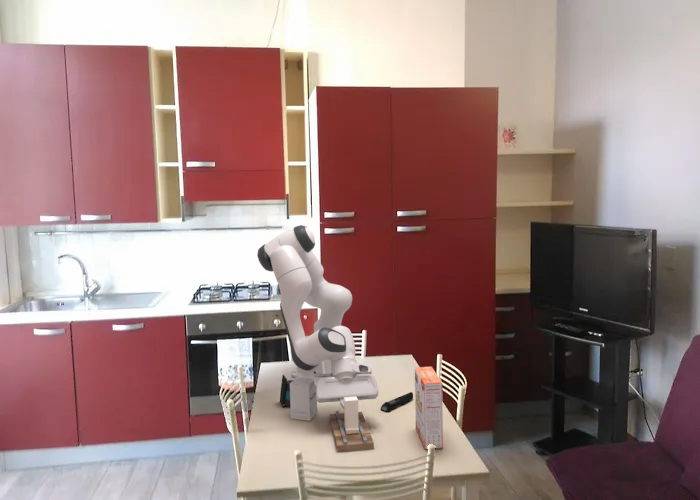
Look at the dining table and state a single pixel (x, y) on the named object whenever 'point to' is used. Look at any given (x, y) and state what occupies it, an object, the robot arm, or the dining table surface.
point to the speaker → (285, 392)
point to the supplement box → (303, 398)
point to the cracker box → (429, 407)
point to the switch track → (350, 440)
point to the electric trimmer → (396, 402)
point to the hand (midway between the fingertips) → (349, 413)
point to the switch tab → (351, 415)
